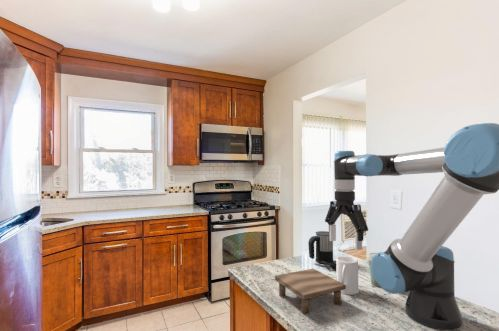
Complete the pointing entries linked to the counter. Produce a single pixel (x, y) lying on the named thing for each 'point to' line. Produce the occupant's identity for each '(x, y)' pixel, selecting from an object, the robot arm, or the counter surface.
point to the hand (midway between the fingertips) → (345, 244)
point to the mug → (348, 274)
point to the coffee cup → (371, 270)
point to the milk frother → (322, 248)
